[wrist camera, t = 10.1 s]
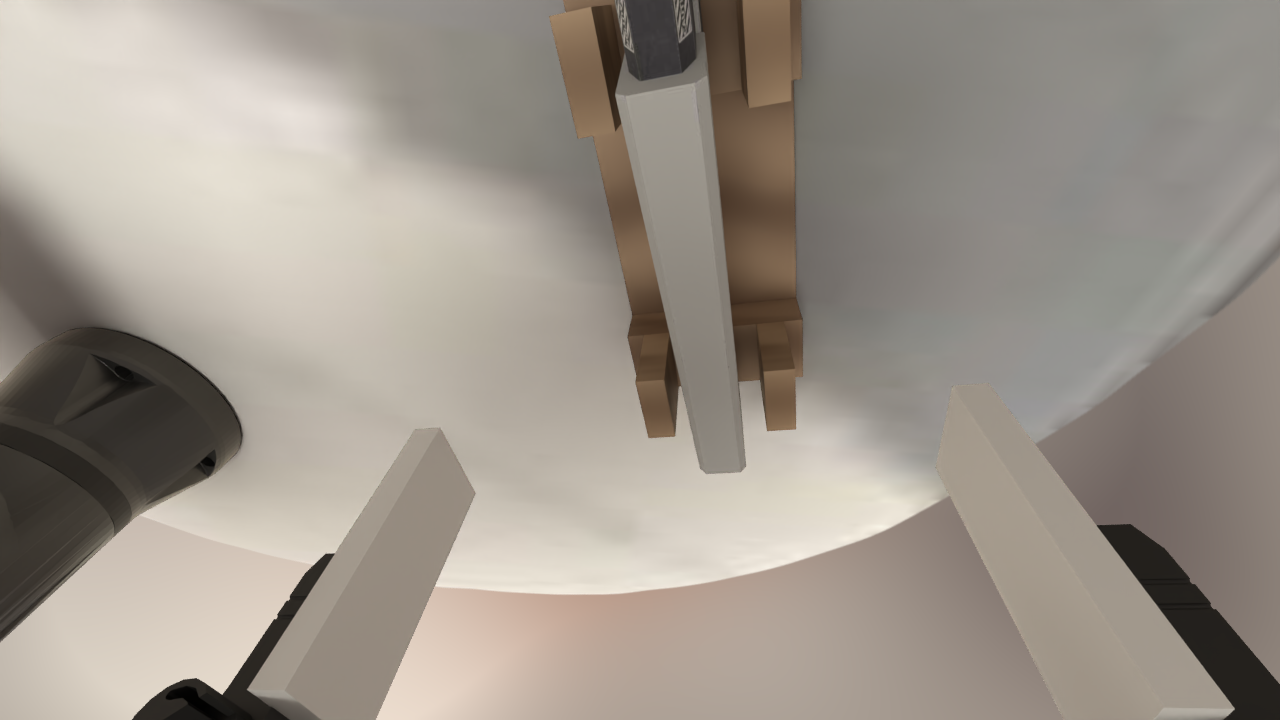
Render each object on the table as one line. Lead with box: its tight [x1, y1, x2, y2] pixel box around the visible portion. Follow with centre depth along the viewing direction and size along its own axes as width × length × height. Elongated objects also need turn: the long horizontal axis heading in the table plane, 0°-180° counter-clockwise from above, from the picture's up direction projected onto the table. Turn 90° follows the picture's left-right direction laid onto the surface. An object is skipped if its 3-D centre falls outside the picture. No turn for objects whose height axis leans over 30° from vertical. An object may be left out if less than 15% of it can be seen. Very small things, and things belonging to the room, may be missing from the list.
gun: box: [614, 0, 746, 474], centre depth 23 cm, size 2×25×10 cm, turn 10°
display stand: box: [549, 0, 803, 438], centre depth 26 cm, size 22×10×8 cm, turn 10°
